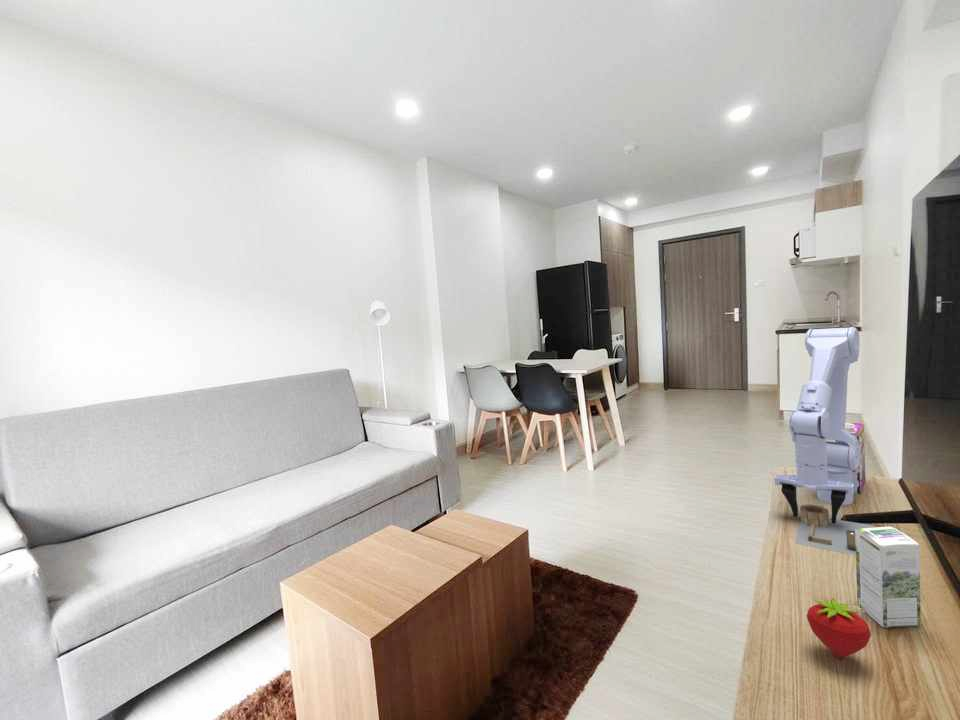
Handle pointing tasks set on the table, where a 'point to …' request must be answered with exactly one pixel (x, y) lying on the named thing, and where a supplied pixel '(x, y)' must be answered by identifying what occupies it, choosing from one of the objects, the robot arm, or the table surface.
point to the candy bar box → (859, 473)
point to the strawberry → (838, 627)
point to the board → (828, 535)
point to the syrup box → (888, 576)
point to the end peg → (851, 540)
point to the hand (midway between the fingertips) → (814, 518)
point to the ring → (814, 515)
